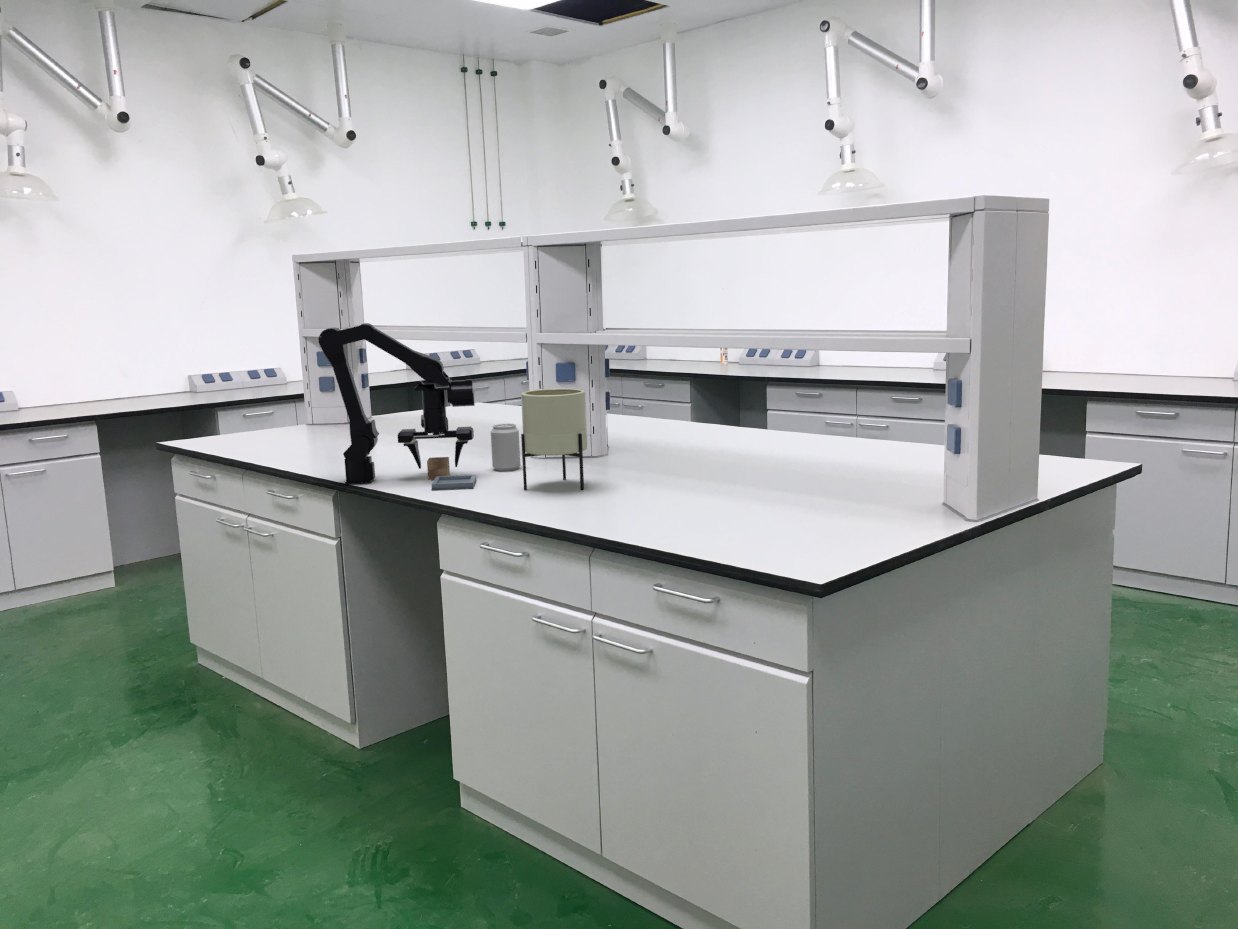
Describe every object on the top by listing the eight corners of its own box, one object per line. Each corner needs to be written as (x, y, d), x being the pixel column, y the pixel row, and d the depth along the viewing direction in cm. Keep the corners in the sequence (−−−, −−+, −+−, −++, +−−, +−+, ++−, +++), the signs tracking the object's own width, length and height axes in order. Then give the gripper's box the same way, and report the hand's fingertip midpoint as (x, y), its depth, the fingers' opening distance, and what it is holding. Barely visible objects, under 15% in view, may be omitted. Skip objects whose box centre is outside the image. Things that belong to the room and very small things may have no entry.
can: (494, 472, 256) (492, 427, 254) (490, 467, 263) (488, 423, 261) (523, 470, 258) (520, 425, 256) (518, 465, 265) (516, 421, 263)
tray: (431, 490, 236) (431, 484, 236) (436, 482, 246) (436, 476, 245) (473, 488, 237) (472, 482, 236) (476, 480, 246) (476, 474, 246)
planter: (516, 484, 240) (511, 391, 236) (577, 478, 246) (573, 386, 241) (532, 496, 226) (528, 397, 222) (597, 489, 232) (593, 392, 227)
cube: (428, 480, 249) (426, 461, 248) (430, 476, 254) (429, 457, 253) (448, 479, 249) (446, 460, 248) (449, 475, 254) (448, 456, 253)
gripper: (473, 402, 257) (477, 460, 260) (402, 405, 256) (406, 463, 258) (470, 407, 246) (473, 468, 249) (395, 410, 245) (399, 471, 248)
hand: (438, 467), depth 251 cm, fingers open, 9 cm apart
